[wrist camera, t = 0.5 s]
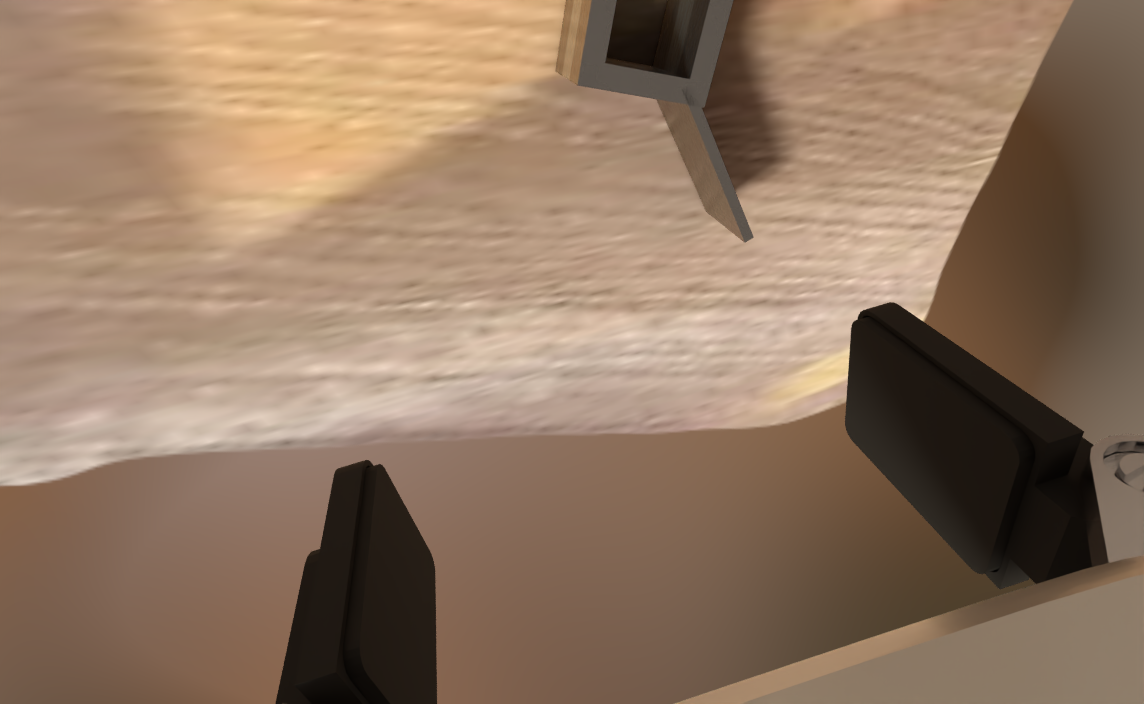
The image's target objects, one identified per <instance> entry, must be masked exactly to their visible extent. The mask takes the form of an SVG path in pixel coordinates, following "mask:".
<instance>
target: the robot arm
mask: <svg viewBox="0 0 1144 704" xmlns="http://www.w3.org/2000/svg"><path fill="white" fill-rule="evenodd" d="M845 426H846V430H847V433H848V435H849V436H850V438H851V440H852V441H853V442H854V443H855V444H856V445H857V446H858V447H859V448H860V450H862V452H863V453H864V454H865V455H866V456H867V457H868V458H869V459H870V460H871V461H872V462H873V463H874V465H875V466H876V467H877V468H878V469H879V470H880V471H881V472H882V473H883V474H884V475H885V476H886V478H887V479H888V480H889V481H890V482H891V483H892V484H893V485H894V486H895V487H896V488H897V489H898V490H899V492H900V493H901V494H902V495H903V496H904V497H905V498H906V499H907V500H908V501H909V502H910V503H911V505H913V507H914V508H915V509H916V510H917V511H918V512H919V513H920V514H921V515H922V516H923V517H924V519H925V520H926V521H927V522H928V523H929V524H930V525H931V526H932V527H933V528H934V529H935V530H936V531H937V533H939V535H940V536H941V537H942V538H943V539H944V540H945V541H946V542H947V543H948V544H949V545H950V547H951V548H952V549H953V550H954V551H955V552H956V553H957V554H958V555H959V556H960V557H961V558H962V559H963V560H964V562H965V563H966V564H967V565H968V566H969V567H970V568H971V569H972V570H973V571H975V572H977V573H979V574H984V573H985V574H986V575H987V576H988V578H989V579H990V580H991V581H992V582H993V583H994V584H995V585H996V586H997V587H998V588H999V589H1002V588H1005V587H1008V586H1011V585H1014V584H1017V583H1020V582H1023V581H1026V580H1029V577H1030V578H1031V579H1032V580H1033V581H1034V582H1035V583H1036V584H1035V585H1031V586H1029V587H1025V588H1022V589H1019V590H1015V591H1012V592H1009V593H1006V594H1002V595H999V596H996V597H993V598H990V599H987V600H984V601H981V602H978V603H975V604H972V605H969V606H966V607H963V608H960V609H957V610H954V611H950V612H948V613H945V614H941V615H938V616H935V617H932V618H929V619H927V620H923V621H920V622H917V623H914V624H911V625H908V626H905V627H902V628H899V629H896V630H893V631H890V632H887V633H884V634H881V635H878V636H875V637H872V638H869V639H865V640H862V641H859V642H857V643H853V644H851V645H848V646H845V647H842V648H839V649H836V650H833V651H830V652H827V653H824V654H821V655H818V656H815V657H812V658H809V659H806V660H803V661H800V662H797V663H794V664H791V665H788V666H785V667H782V668H779V669H776V670H773V671H770V672H767V673H764V674H761V675H758V676H755V677H752V678H749V679H746V680H743V681H740V682H738V683H734V684H731V685H728V686H725V687H723V688H719V689H717V690H714V691H711V692H707V693H705V694H701V695H698V696H696V697H693V698H690V699H687V700H684V701H681V702H678V703H675V704H1144V435H1135V434H1121V435H1113V436H1108V437H1106V438H1104V439H1101V440H1099V441H1097V442H1096V443H1095V445H1093V444H1091V443H1090V442H1088V441H1087V440H1086V439H1084V438H1083V437H1082V436H1083V433H1084V431H1082V430H1081V429H1079V428H1078V427H1076V426H1075V425H1073V424H1072V423H1071V422H1069V421H1068V420H1066V419H1065V418H1063V417H1062V416H1060V415H1059V414H1057V413H1056V412H1054V411H1053V410H1051V409H1050V408H1049V407H1047V406H1046V405H1044V404H1043V403H1041V402H1040V401H1038V400H1037V399H1035V398H1034V397H1033V396H1031V395H1030V394H1028V393H1027V392H1025V391H1023V390H1022V389H1021V388H1019V387H1018V386H1016V385H1015V384H1014V383H1012V382H1011V381H1009V380H1008V379H1006V378H1005V377H1003V376H1002V375H1000V374H999V373H997V372H996V371H994V370H993V369H991V368H990V367H989V366H987V365H986V364H984V363H983V362H981V361H980V360H978V359H977V358H975V357H974V356H973V355H971V354H970V353H968V352H967V351H965V350H964V349H962V348H961V347H959V346H958V345H956V344H955V343H954V342H952V341H951V340H949V339H948V338H946V337H945V336H943V335H942V334H940V333H939V332H937V331H936V330H935V329H933V328H932V327H930V326H929V325H927V324H926V323H924V322H923V321H921V320H920V319H918V318H917V317H916V316H914V315H913V314H911V313H910V312H908V311H907V310H905V309H904V308H902V307H901V306H899V305H898V304H896V303H891V302H889V303H886V304H883V305H879V306H876V307H873V308H869V309H866V310H863V311H862V312H860V314H859V316H858V320H856V321H854V322H853V324H852V328H851V341H850V356H849V371H848V386H847V401H846V416H845ZM435 598H436V594H435V566H434V561H433V558H432V555H431V553H430V550H429V549H428V547H427V545H426V543H425V541H424V539H423V537H422V536H421V534H420V532H419V530H418V528H417V527H416V525H415V523H414V521H413V519H412V517H411V516H410V514H409V512H408V510H407V508H406V506H405V505H404V503H403V501H402V499H401V497H400V495H399V494H398V492H397V490H396V488H395V486H394V485H393V483H392V481H391V479H390V477H389V475H388V474H387V472H386V470H385V468H384V467H383V466H382V465H381V464H379V465H375V466H373V464H372V463H371V462H370V461H369V460H365V461H361V462H358V463H355V464H351V465H348V466H345V467H341V468H338V469H337V470H336V471H335V474H334V478H333V484H332V489H331V494H330V499H329V504H328V510H327V515H326V521H325V526H324V531H323V537H322V541H321V547H320V549H319V550H316V551H312V552H311V553H310V554H309V556H308V557H307V560H306V563H305V566H304V571H303V576H302V580H301V585H300V590H299V595H298V599H297V604H296V609H295V614H294V618H293V623H292V628H291V633H290V637H289V642H288V647H287V652H286V656H285V661H284V666H283V671H282V676H281V680H280V685H279V690H278V694H277V699H276V704H437V676H436V675H437V672H436V671H437V670H436V601H435V600H436V599H435Z"/></svg>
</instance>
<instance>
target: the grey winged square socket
mask: <svg viewBox="0 0 1144 704" xmlns="http://www.w3.org/2000/svg"><path fill="white" fill-rule="evenodd" d="M616 2H617V0H566V5H565V11H564V18H563V25H562V31H561V38H560V45H559V51H558V58H557V65H556V72H558V73H559V74H561V75H562V76H564V77H565V78H567V79H568V80H570V81H571V82H573V83H575V84H576V85H578V86H584V87H590V88H596V89H601V90H607V91H613V92H618V93H624V94H630V95H635V96H641V97H647V98H653V99H657V101H658V104H659V106H660V108H661V110H662V113H663V115H664V117H665V120H666V122H667V124H668V126H669V129H670V131H671V133H672V135H673V138H674V140H675V142H676V144H677V147H678V149H679V151H680V153H681V156H682V158H683V160H684V163H685V165H686V167H687V169H688V172H689V174H690V176H691V178H692V181H693V183H694V185H695V187H696V190H697V192H698V194H699V196H700V199H701V201H702V203H703V206H704V208H705V210H706V212H707V213H709V214H710V215H711V216H712V217H714V218H715V219H716V220H717V221H719V222H720V223H721V224H722V225H724V226H725V227H726V228H727V229H728V230H730V231H731V232H732V233H733V234H735V235H736V236H737V237H738V238H740V239H741V240H742V241H743V242H747V241H748V240H750V239H752V238H753V235H752V232H751V230H750V227H749V225H748V222H747V220H746V217H745V215H744V212H743V210H742V207H741V205H740V202H739V200H738V197H737V195H736V192H735V190H734V187H733V185H732V182H731V180H730V177H729V175H728V172H727V170H726V167H725V165H724V162H723V160H722V157H721V155H720V152H719V150H718V147H717V145H716V142H715V140H714V137H713V135H712V132H711V130H710V127H709V125H708V122H707V120H706V117H705V115H704V112H703V110H702V107H705V104H706V100H707V96H708V93H709V89H710V85H711V82H712V78H713V74H714V70H715V67H716V63H717V59H718V56H719V52H720V48H721V45H722V41H723V37H724V33H725V30H726V26H727V22H728V19H729V15H730V11H731V8H732V4H733V0H668V1H667V5H666V10H665V14H664V19H663V23H662V28H661V32H660V37H659V41H658V46H657V50H656V55H655V59H654V64H653V66H649V65H644V64H638V63H633V62H628V61H623V60H617V59H612V58H607V57H606V56H607V50H608V45H609V40H610V34H611V29H612V23H613V18H614V13H615V7H616Z"/></svg>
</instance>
